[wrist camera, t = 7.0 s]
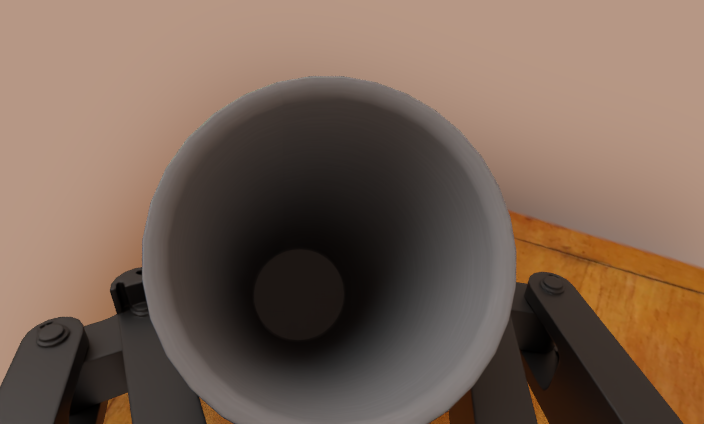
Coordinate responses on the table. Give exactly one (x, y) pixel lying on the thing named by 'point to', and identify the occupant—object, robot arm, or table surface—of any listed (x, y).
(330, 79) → the cup
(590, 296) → the table surface
